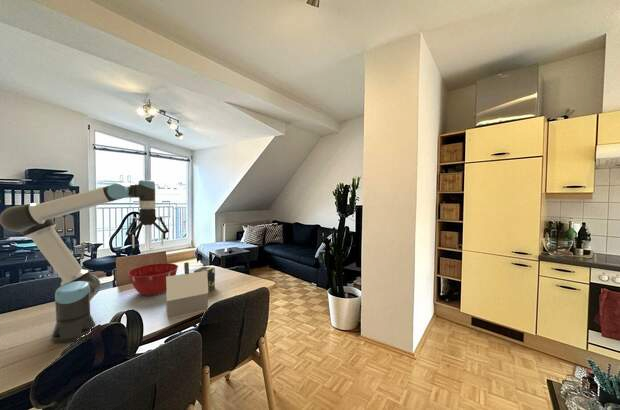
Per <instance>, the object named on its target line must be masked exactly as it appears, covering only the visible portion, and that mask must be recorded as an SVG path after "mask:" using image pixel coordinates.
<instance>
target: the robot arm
mask: <svg viewBox="0 0 620 410" xmlns="http://www.w3.org/2000/svg"><path fill="white" fill-rule="evenodd" d="M129 198H131V199H132V198H135V199H137V198H138V207H139V210H138V211H139V217H132V222H131V223H130V224H129V227H128V229H127V230H126V232H125V236H128V237H129V242H130V243H132V249H135V235H134V234H135V233H136V232H137V231H138V230H139V229H140V228H141V227H142V226H152V225H154V227H156V228H157V229H158V230H159V231H160V232H161V233H160V234H161V235H160V237H161V243H160V244H161V246H164V240H166V234H167V233H169V232H170V230H169V229H168V227H167V225H166V223H165V222H164V221H163V217H162V216H157V215H156V214H157V213H156V184H155V181H153V180H138V183H123V182H116V183H111V184H110V185H106V186H102V187H98V188H95V189H91V190H87V191H83V192H79V193H75V194H71V195H68V196H64V197H60V198H57V199H53V200H49V201H45V202H44V201H43V202H42V203H41V202H40V203H38V204H37V203H34V202H32V203H27V204H20V205H14V206H11V207H7V208H5V209H4V210H3V211H1V213H0V225H1V226H2V228H4V229H5V230H8V231H10V232H14V233H15V232H17V233H21V234H22V235H23V237H24V238H27V239H31V240H32V241H33V243H34V245H36V247H37V249H39V251H40V252H41V253H42V255H43V256H44V258H45V259H46V260H47V262H48V263H49V265H50V266H51V267H52V268H53V270H54V272H56V274H57V275H58V276H59V277H60V279H61V282H60V286H59V287H58V288H57V289H56V290H55V293H54V302H55V305H54V306H55V321H56V323H55V325H54V328H53V329H52V330H53V331H52V334H51V343H53V342H54V344H58V343H60V344H68V343H72V342H76V341H78V340H77V339H78V338H80V337H81V336H83V335H86V334H88V333H89V332H90V329H91V328H92V327H94V326H95V327H96V322H95V321H94V319H93V317H92V315H91V301H92V299H93V298H94V297H95V296H96V295H97V294H98V293H99V290H100V288H101V280H100V278H99V277H97V276H96V275H94V274H91V272H90V271H89V270H88V269H83V267H82V266H81V264H80V263H79V262H78V261H77V259H76V258H75V256H74V255H73V253H72V252H71V251H70V249H69V247H68V246H67V245H66V244H65V242H64V240H63V239H62V238H61V236H60V235H59V234H58V232H57V231H56V230H55V228H56V226H57V224H56V223H55V221H54V220H53V219H55V218H58V217H61V216H66V215H68V214H69V215H70V214H72V213H73V214H74V213H77V212H80V211H82V210H86V209H90V208H93V207H98V206H100V205H104V204H107V203H111V202H115V201H118V200H122V199H129ZM156 220H157V221H159V222H160V223H161V225H162V227H163V228H164V229H163V228H162V227H161V226H160V225H159V224H158V223H156ZM138 221H139V222H140V223H138V225H137V226H136V227H135V228H134V229H133V227H134V225H135V223H137V222H138ZM132 229H133V230H132ZM131 230H132V231H131ZM130 231H131V232H130Z"/></svg>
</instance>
